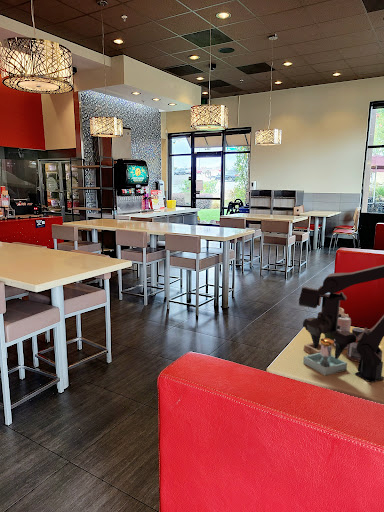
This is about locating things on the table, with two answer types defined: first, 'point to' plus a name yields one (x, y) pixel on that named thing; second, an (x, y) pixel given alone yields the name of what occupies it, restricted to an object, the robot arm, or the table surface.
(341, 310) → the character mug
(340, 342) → the robot arm
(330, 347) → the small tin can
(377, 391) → the table surface
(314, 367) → the tray
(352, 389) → the table surface
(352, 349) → the supplement bottle
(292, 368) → the table surface
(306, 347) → the wooden square frame
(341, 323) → the energy drink
